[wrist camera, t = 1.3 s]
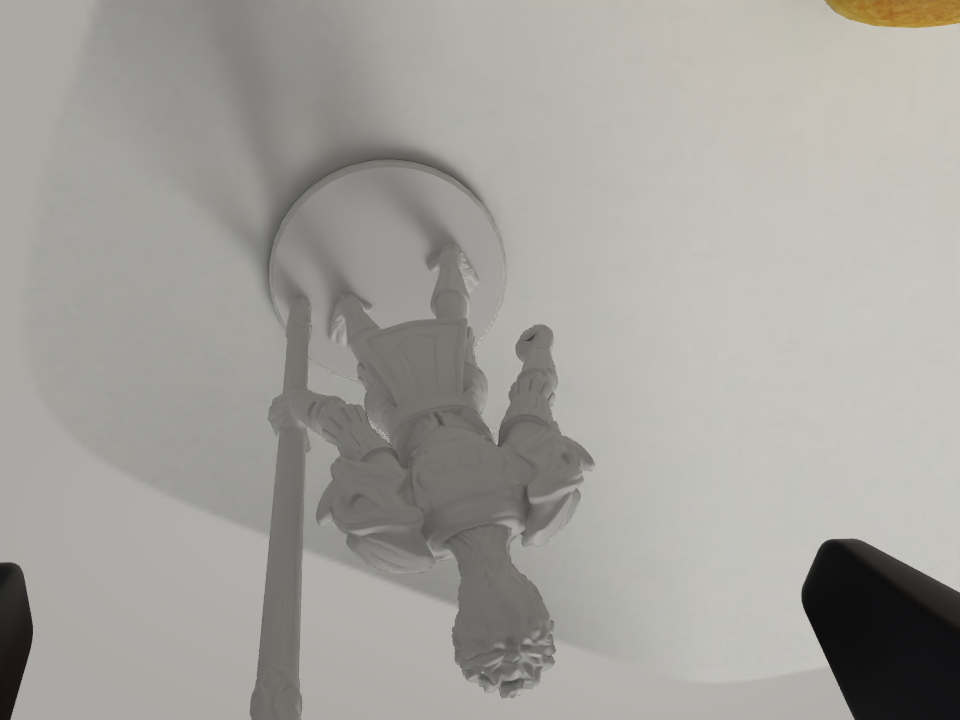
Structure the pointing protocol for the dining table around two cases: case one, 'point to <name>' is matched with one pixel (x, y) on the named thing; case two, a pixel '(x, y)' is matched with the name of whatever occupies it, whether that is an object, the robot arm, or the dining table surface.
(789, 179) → the dining table surface
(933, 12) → the bread roll
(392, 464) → the figurine
